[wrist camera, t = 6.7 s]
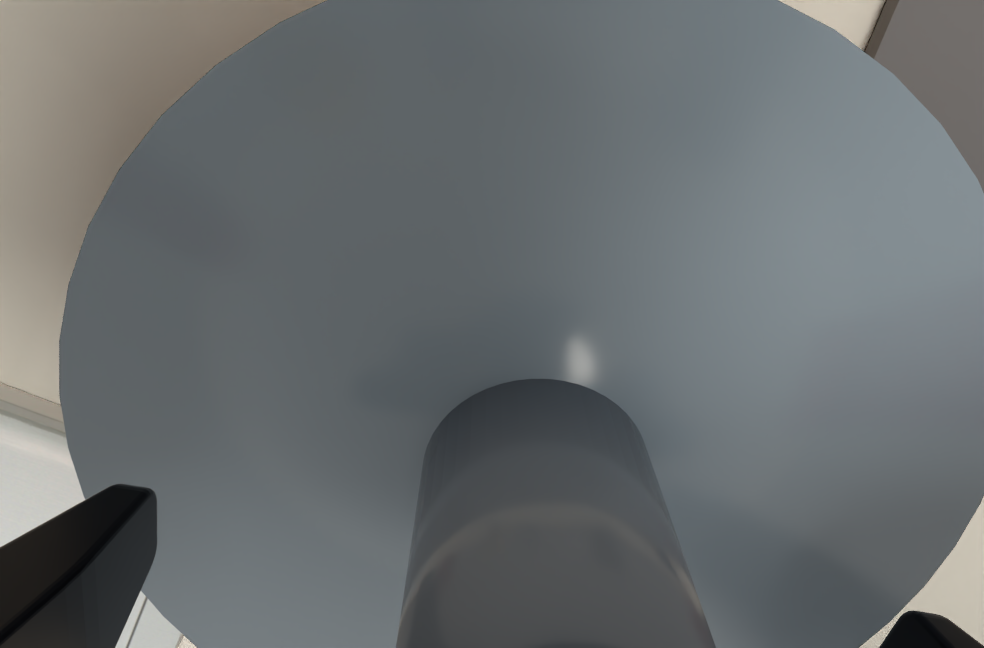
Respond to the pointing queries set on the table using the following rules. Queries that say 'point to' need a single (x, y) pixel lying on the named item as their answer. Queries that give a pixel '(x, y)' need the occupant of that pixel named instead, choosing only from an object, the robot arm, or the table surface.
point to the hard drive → (54, 494)
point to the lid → (537, 332)
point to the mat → (939, 64)
